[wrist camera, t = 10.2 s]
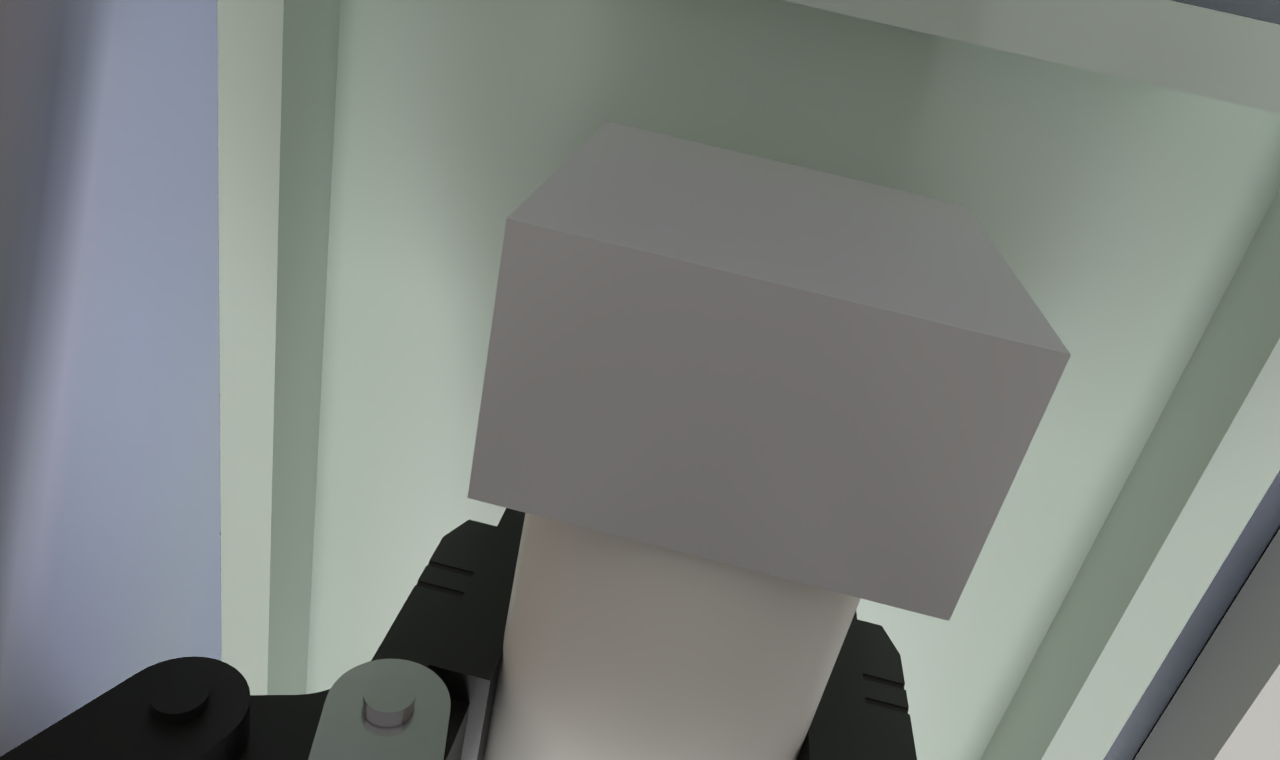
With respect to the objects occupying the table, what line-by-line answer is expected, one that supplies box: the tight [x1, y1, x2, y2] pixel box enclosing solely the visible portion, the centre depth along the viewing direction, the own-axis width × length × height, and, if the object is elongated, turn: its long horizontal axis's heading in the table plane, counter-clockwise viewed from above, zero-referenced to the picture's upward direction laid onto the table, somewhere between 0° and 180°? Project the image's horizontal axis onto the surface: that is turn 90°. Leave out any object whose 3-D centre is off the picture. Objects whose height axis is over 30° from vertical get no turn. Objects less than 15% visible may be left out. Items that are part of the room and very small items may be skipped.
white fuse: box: [468, 121, 1071, 760], centre depth 11 cm, size 13×4×4 cm, turn 168°
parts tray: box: [218, 0, 1280, 760], centre depth 14 cm, size 14×18×2 cm
